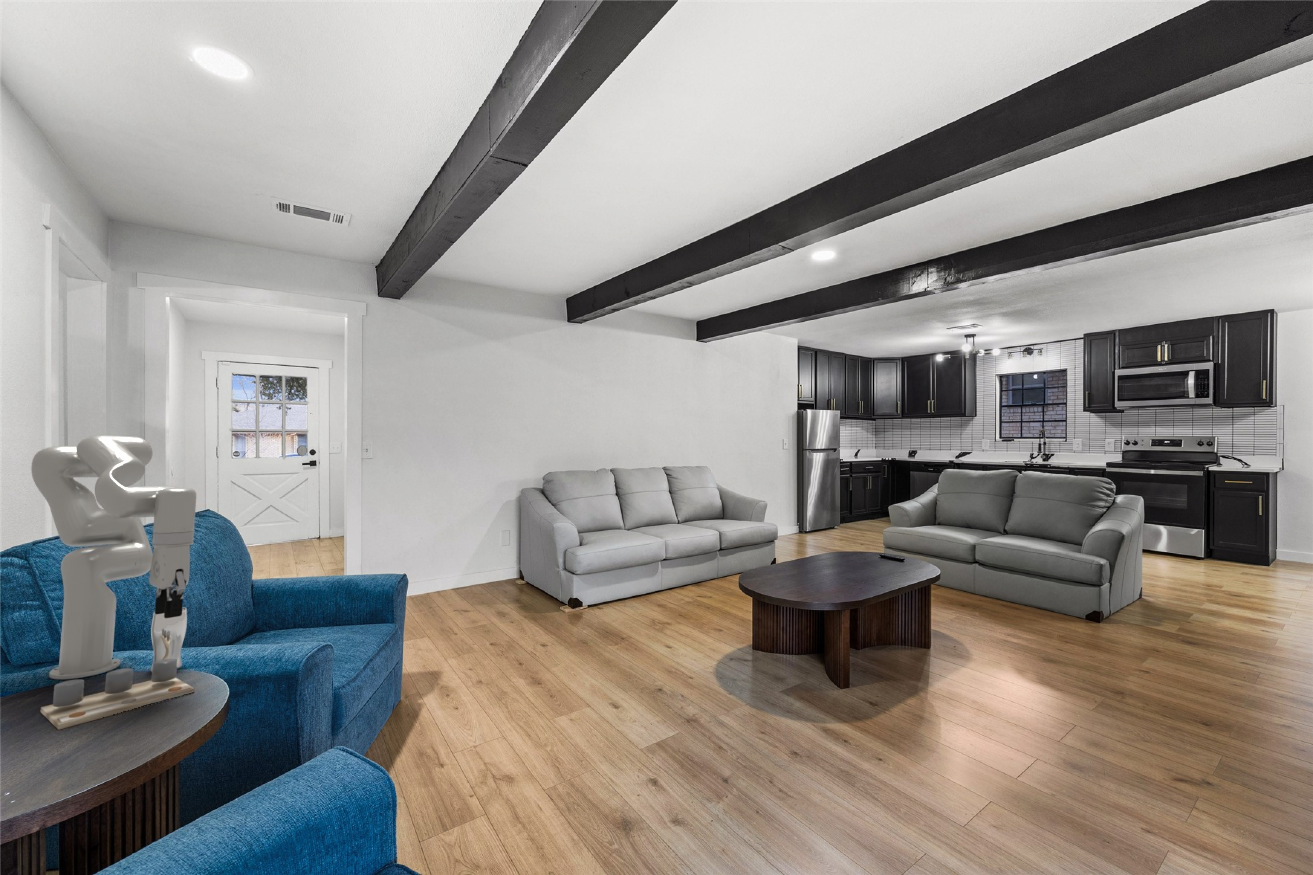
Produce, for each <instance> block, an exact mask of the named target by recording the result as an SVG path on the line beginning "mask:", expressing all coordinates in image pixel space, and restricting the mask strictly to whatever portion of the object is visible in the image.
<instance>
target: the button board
mask: <svg viewBox="0 0 1313 875" xmlns="http://www.w3.org/2000/svg"><path fill="white" fill-rule="evenodd" d="M192 691H194V692H195V688H194V687H193V686H191V685H190V684H188V683H186V682H185V681H183V680H181V679H179V678H177V677H176V678H174V679H172V680H168V681H164V682H152V679H151V680H147V681H143V682H142V681H141V682H139V683H135V684H132V688H131V689H130V690H127V691H124V692H121V693H115V694H106V693H105V691H102V692H98V693H93V694H89V695H86V696H83V700H82V701H81V702H79V703H76V704H73V705H69V706H63V707H54V706H53V703H52V704H49V705H45V706H44V705H43V706H41V707H40V713H41V714H42V716H44V717H45V718H46V719H47V720H48V721H49V722H50V723H51V724H52V725H53V726H54V727H55V728H56V729H57V731H59V730H63V729H67V728H70V727H74V726H78V725H82V724H85V723H88V722H92V721H96V720H100V719H103V717H104V718H107V717H110V716H114V715H113V714H115V715H117V713H118V714H122V713H124V712H123V711H126V712H128V710H129V711H132V709H133V710H135V709H134V708H137V709H139V708H138V707H140V708H142V707H141V706H143V705H146V704H150V703H153V702H156V701H161V700H163V699H167V698H172V697H174V696H178V695H181V694H185V693H189V692H192ZM121 712H122V713H121Z"/></svg>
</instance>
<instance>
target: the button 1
mask: <svg viewBox="0 0 1313 875" xmlns="http://www.w3.org/2000/svg"><path fill="white" fill-rule="evenodd" d="M53 689H54V690H53V700H52V704H53V706H54V707H63V706H69V705H73V704H76V703H79V702H81V701H82V700H83V697H84V689H85V680H84V679H82V678H81V679H79V678H76V679H68V680H65V681H62V682H59V683H56V684H55V685H54V687H53Z"/></svg>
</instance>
